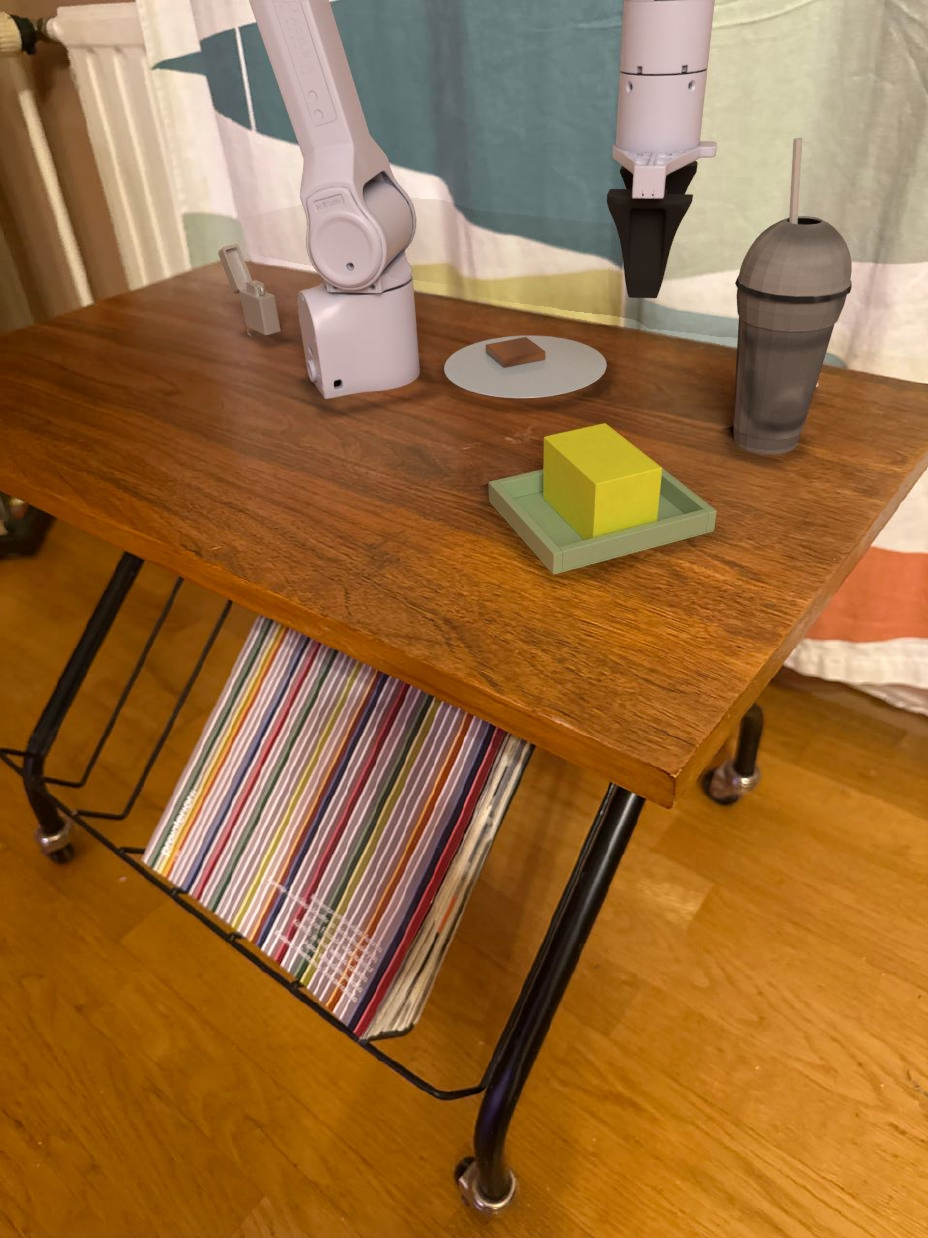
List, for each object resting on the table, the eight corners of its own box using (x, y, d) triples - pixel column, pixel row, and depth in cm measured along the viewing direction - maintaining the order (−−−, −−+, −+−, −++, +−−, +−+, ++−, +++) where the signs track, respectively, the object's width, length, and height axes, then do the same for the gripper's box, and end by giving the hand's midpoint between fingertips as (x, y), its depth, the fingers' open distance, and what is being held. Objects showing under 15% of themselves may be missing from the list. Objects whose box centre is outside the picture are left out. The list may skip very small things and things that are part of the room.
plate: (481, 422, 71) (481, 410, 70) (421, 362, 81) (421, 351, 81) (636, 388, 75) (637, 377, 74) (560, 336, 85) (560, 325, 85)
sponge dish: (553, 579, 53) (553, 554, 52) (488, 505, 61) (488, 481, 59) (713, 535, 56) (717, 510, 55) (634, 469, 64) (636, 446, 62)
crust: (503, 368, 77) (503, 359, 76) (485, 352, 80) (485, 344, 79) (545, 359, 78) (545, 350, 77) (526, 345, 81) (526, 336, 80)
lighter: (283, 340, 87) (268, 254, 83) (267, 344, 87) (252, 258, 82) (247, 323, 92) (232, 241, 87) (232, 327, 91) (216, 244, 86)
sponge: (592, 549, 55) (596, 484, 52) (542, 497, 60) (543, 436, 57) (656, 532, 56) (663, 467, 53) (602, 483, 61) (605, 422, 59)
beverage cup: (800, 476, 62) (868, 154, 50) (698, 454, 65) (738, 146, 53) (828, 434, 67) (895, 131, 54) (732, 415, 70) (775, 125, 58)
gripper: (724, 84, 53) (698, 314, 61) (726, 55, 64) (703, 253, 72) (604, 86, 55) (594, 310, 63) (626, 58, 66) (615, 251, 74)
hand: (646, 280), depth 68 cm, fingers open, 7 cm apart
